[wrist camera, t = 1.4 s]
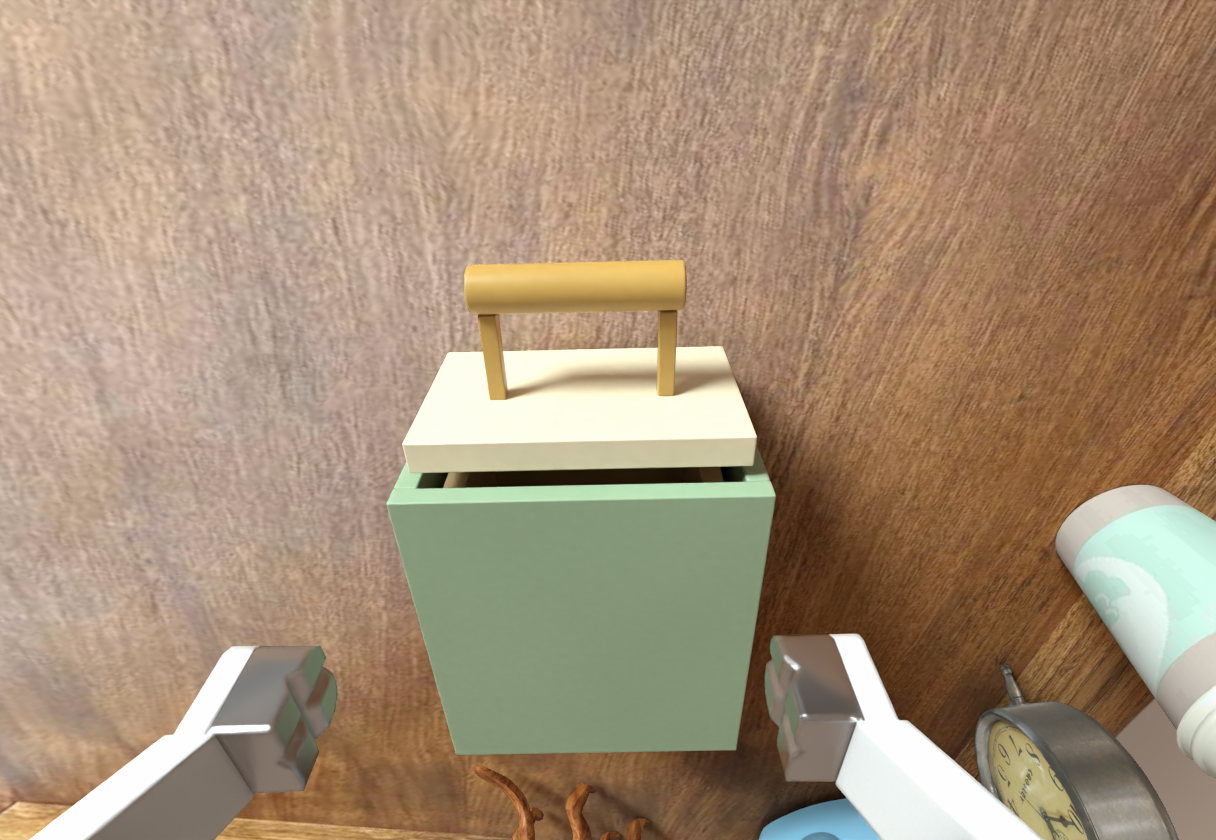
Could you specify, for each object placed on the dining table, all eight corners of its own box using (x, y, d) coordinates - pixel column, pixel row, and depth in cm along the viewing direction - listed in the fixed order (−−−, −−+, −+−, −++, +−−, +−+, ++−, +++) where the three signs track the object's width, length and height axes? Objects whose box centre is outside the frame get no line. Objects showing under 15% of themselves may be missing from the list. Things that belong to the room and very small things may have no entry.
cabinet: (445, 378, 27) (385, 504, 20) (730, 371, 27) (777, 495, 20) (487, 605, 35) (455, 755, 27) (708, 600, 35) (736, 750, 27)
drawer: (427, 235, 23) (366, 301, 17) (732, 227, 23) (776, 291, 17) (489, 581, 32) (463, 699, 27) (703, 577, 32) (724, 694, 27)
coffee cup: (1043, 476, 30) (1268, 700, 20) (1230, 449, 29) (1566, 669, 19) (1014, 594, 34) (1186, 828, 24) (1176, 574, 34) (1425, 806, 23)
